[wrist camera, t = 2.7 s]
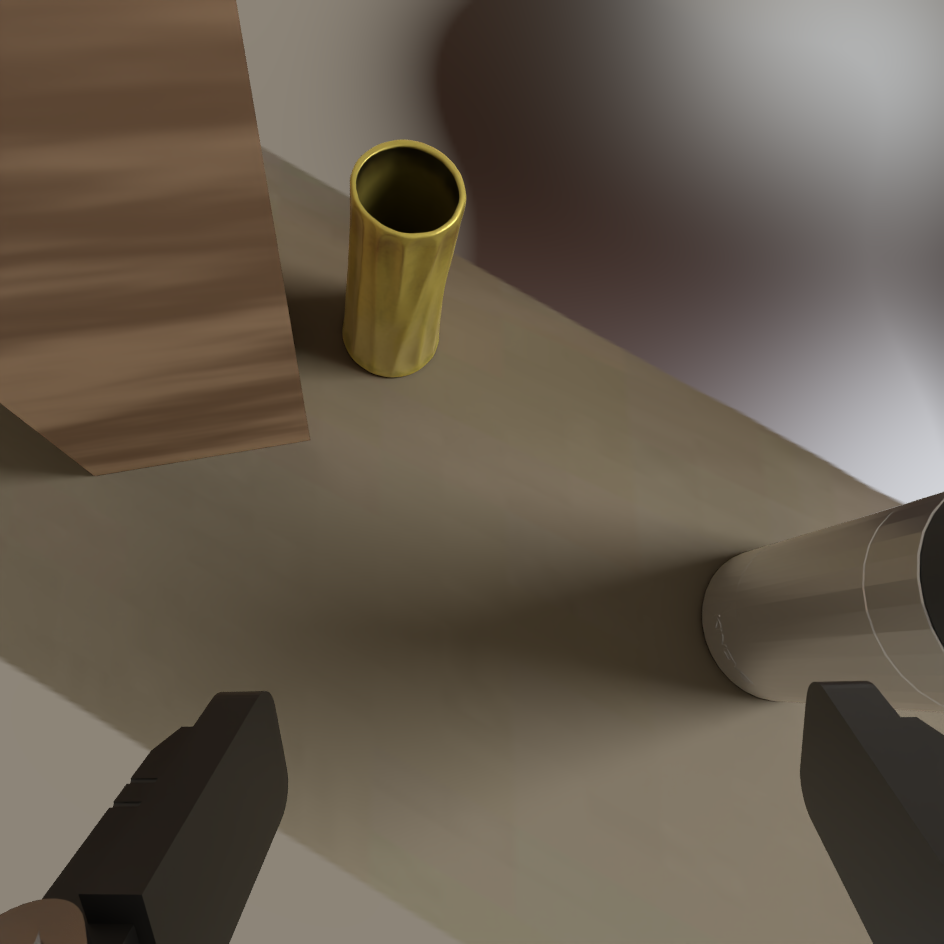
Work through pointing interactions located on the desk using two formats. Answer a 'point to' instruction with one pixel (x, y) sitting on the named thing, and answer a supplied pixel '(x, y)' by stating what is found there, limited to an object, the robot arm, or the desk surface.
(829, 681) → the robot arm
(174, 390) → the pedestal
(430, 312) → the vase
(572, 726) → the desk surface
